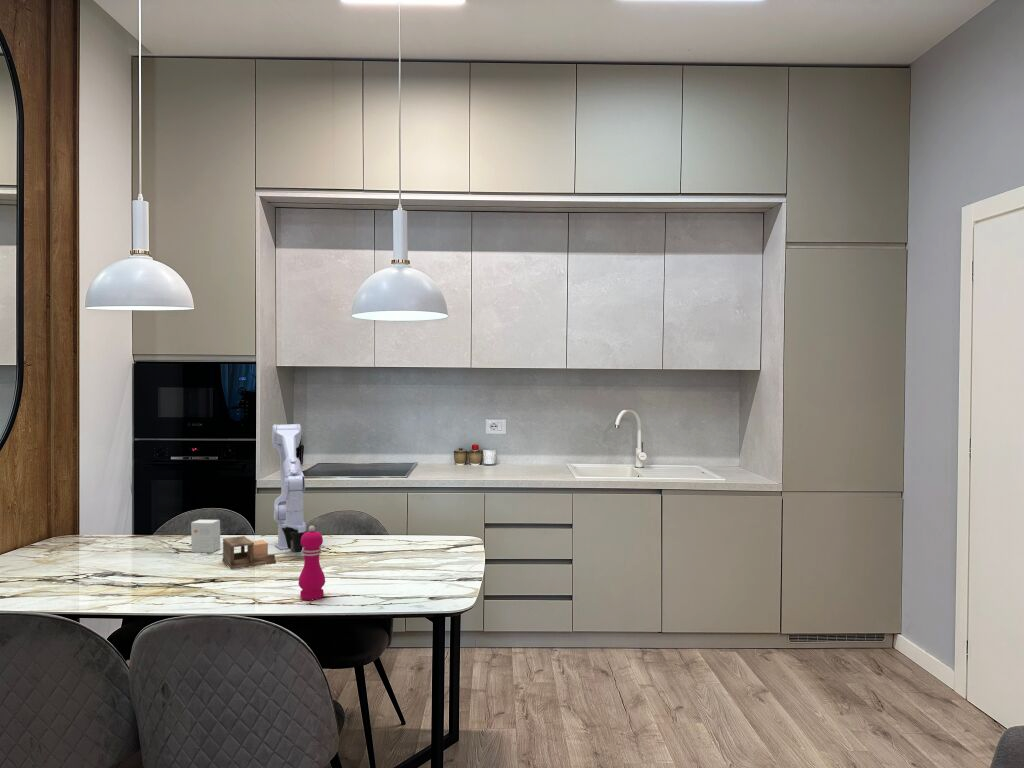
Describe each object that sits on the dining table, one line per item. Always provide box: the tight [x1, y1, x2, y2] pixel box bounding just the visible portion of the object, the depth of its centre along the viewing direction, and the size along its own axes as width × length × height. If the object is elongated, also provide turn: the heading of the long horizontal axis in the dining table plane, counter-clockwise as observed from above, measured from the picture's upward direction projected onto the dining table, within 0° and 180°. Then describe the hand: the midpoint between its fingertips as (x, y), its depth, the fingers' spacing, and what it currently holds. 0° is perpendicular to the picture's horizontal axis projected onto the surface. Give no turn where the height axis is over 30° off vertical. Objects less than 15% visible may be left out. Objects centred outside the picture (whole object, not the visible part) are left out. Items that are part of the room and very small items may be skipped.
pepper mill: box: [298, 525, 326, 601], centre depth 209 cm, size 7×7×20 cm
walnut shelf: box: [222, 535, 277, 570], centre depth 248 cm, size 14×12×8 cm
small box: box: [190, 519, 221, 553], centre depth 264 cm, size 8×6×10 cm
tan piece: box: [246, 539, 296, 558], centre depth 252 cm, size 16×6×5 cm, turn 124°
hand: (294, 550), depth 256 cm, fingers open, 7 cm apart
